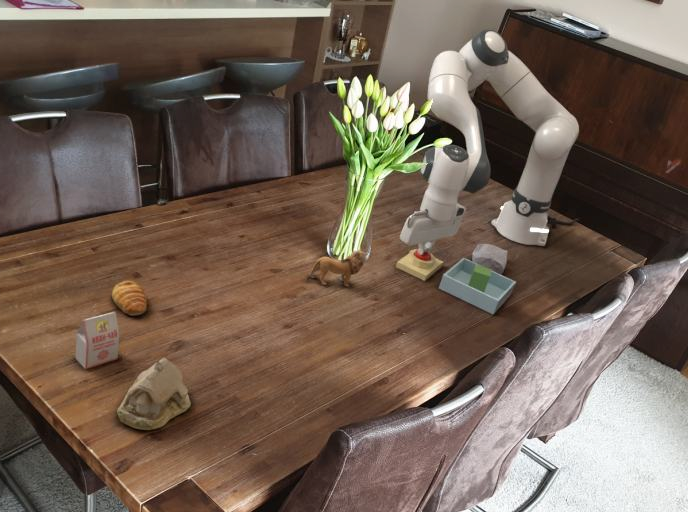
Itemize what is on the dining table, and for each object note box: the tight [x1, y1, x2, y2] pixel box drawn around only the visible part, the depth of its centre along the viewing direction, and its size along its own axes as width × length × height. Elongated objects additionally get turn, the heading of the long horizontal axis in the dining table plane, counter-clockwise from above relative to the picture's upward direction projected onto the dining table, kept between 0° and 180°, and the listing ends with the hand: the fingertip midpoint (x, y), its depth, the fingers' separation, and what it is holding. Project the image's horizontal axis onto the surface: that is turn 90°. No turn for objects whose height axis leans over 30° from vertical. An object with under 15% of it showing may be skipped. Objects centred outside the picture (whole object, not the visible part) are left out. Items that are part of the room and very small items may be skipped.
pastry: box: [111, 280, 148, 317], centre depth 162 cm, size 9×7×4 cm
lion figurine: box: [305, 249, 367, 288], centre depth 189 cm, size 15×5×9 cm, turn 111°
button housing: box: [395, 248, 444, 282], centre depth 208 cm, size 12×9×4 cm
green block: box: [468, 264, 492, 293], centre depth 203 cm, size 4×4×6 cm
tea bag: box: [75, 311, 120, 370], centre depth 143 cm, size 4×7×10 cm, turn 135°
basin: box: [438, 257, 517, 315], centre depth 204 cm, size 15×16×4 cm
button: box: [414, 250, 432, 261], centre depth 207 cm, size 4×4×2 cm
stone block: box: [471, 243, 508, 275], centre depth 221 cm, size 12×5×10 cm
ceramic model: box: [116, 357, 192, 431], centre depth 136 cm, size 14×11×10 cm
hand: (422, 253), depth 207 cm, fingers closed, pressing on button
